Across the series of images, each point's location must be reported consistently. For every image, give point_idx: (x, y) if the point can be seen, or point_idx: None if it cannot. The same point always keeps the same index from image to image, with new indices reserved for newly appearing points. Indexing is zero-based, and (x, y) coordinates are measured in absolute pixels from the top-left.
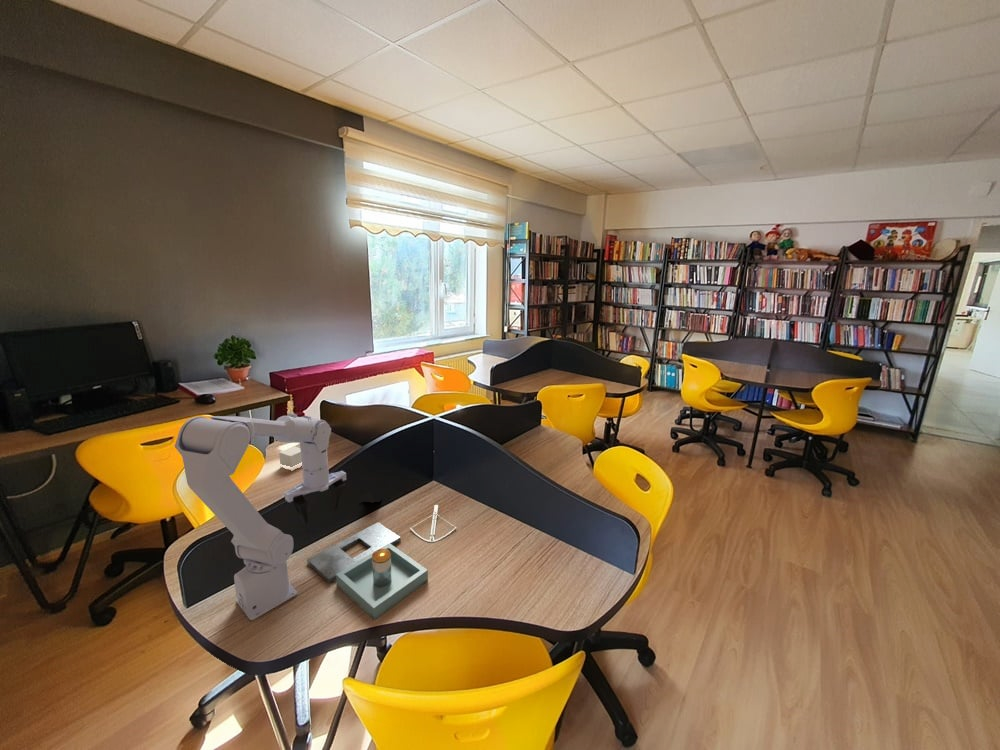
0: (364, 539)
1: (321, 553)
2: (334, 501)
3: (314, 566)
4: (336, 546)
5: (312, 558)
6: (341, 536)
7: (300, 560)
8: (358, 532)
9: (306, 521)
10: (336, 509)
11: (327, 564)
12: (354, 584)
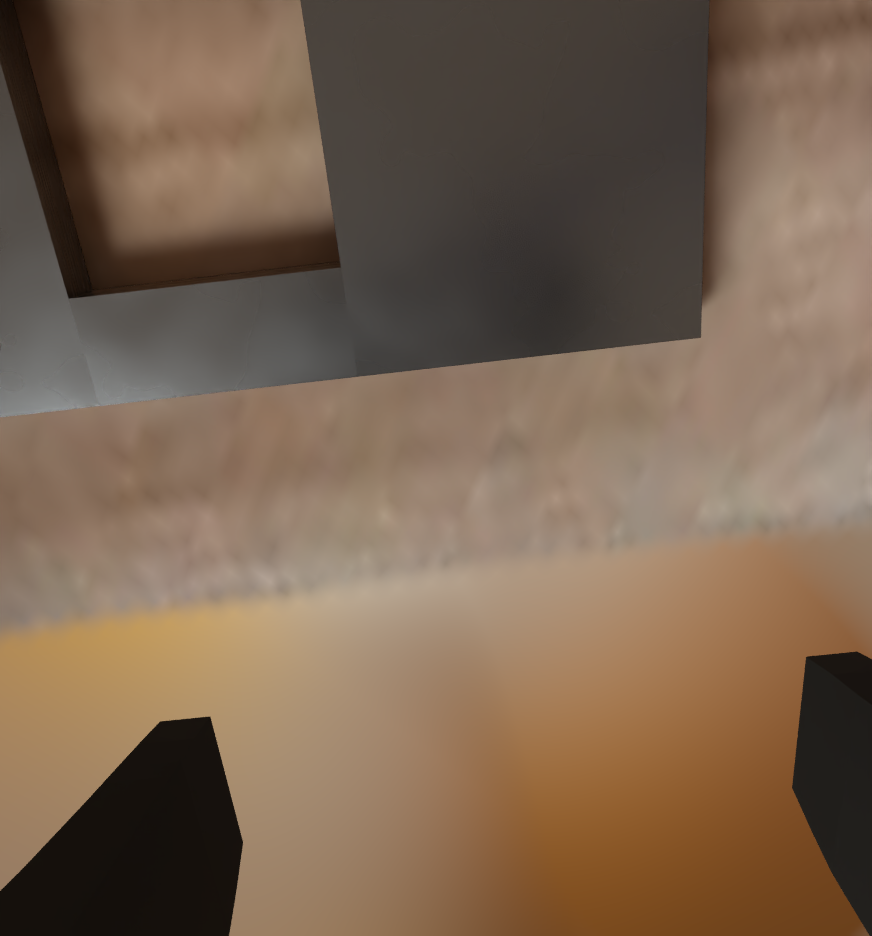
0: (19, 222)
1: (543, 326)
2: (119, 930)
3: (702, 158)
4: (359, 332)
5: (654, 310)
6: (233, 513)
7: (704, 420)
8: (46, 409)
9: (867, 676)
10: (166, 726)
11: (585, 66)
12: None
